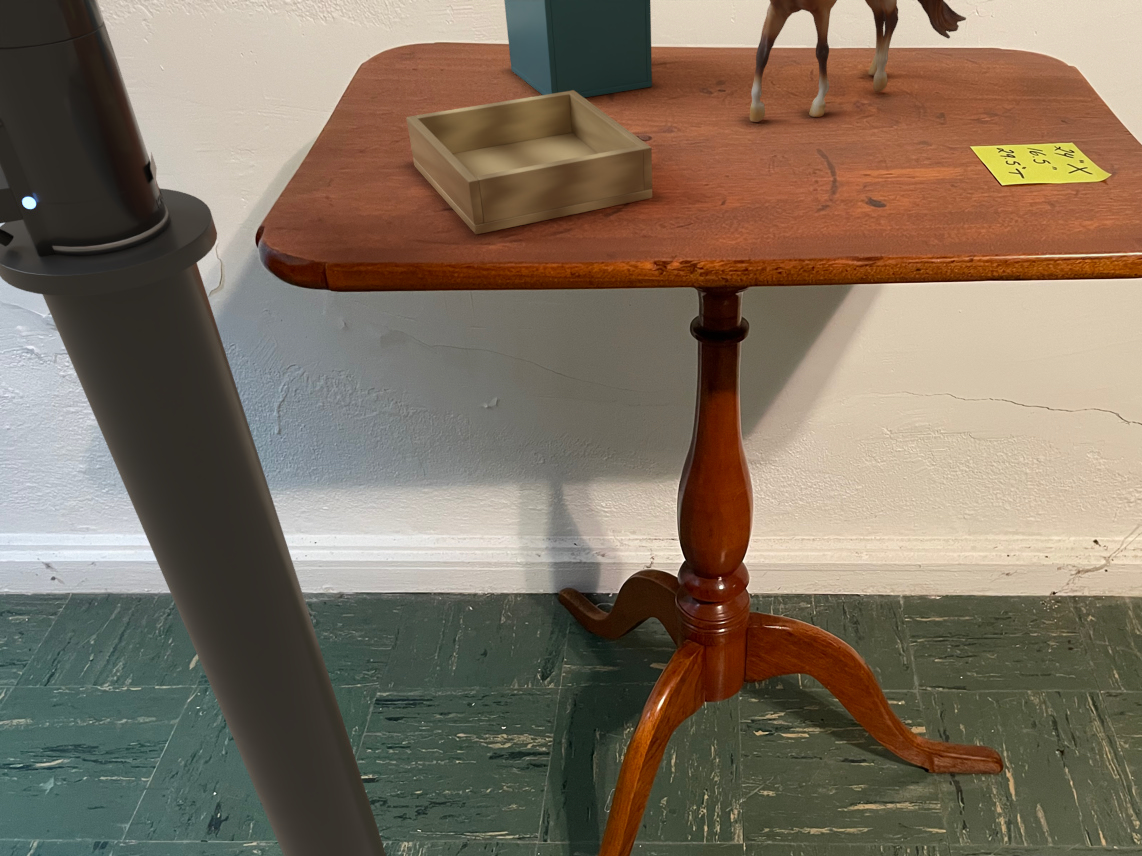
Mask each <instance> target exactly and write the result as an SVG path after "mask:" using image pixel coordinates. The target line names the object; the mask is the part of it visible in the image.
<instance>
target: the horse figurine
mask: <svg viewBox="0 0 1142 856" xmlns="http://www.w3.org/2000/svg"><path fill="white" fill-rule="evenodd" d="M837 1H838V0H769V6H768V7H767V10H766V16H765V18H764V22H763V25H762V29H761V35H760V41H759V43H758V46H757V50H756V55H755V72H754V77H753V82H752V87H751V104H750V105H749V106H750V107H749V114H748V115H749V121H750V122H753V123H758V122H761V121H762V120H763V119H764V118H765V115H766V107H765V103H764V102H762V100H761V97H762V95H763V90H762V84H763V75H764V72H765V68H766V66H767V64H768V61H769V59H770V54H771V50H772V49H773V47H774V45H775V43H776V40H777V38H778V37H779V35H780V33H781V31H782V30H783V28H784V26H785V24H786V22H787V20H788V19H789V17H791V15H793V14H795V13H798V12H800V11H805V12H808V13H810V14H811V15H812V18H813V23H814V25H815V30H816V37H817V41H816V45H815V57H816V60H817V62H818V74H819V75H818V91H817V92H818V93H817V95H816V96H815V98H814V99H813V101H812V102H811V106H810V108H809V113H808V115H809V116H810V117H812V118H820V117H822V116H824V114H825V110H826V106H827V105H826V101H825V98H826V95H827V94H828V92H829V90H830V81H829V77H828V59H829V56H830V55H829V54H830V45H829V43H828V36H829V35H828V34H829V27H830V18H831V17H830V16H831V11H832V9H833V7H834V6H835V5H836V3H837ZM864 1H865V3H866V4H867V6H868V7H869V8H870V9H871V12H872V14H873V20H874V26H875V52H874V53H875V54H874V57H873V58H872V61H871V63H870V66H869V69H868V72H867V74H868V76H873V81H872V91H873V92H874V93H876V94H877V93H881V92H883V91H884V90H885V89H886V88H887V85H888V81H889V80H888V74H887V72H886V71H885V70H886V66H887V64H888V62H889V61H888V60H889V49H890V45H891V41H892V37H893V35H894V32H895V30H896V28H897V25H898V22H899V8H898V5H897V4H898V0H864ZM916 1H917V2H918V3H919V4H920V6H921V7H922V9H923V11H924V12H925V14H926V15H927V18H928V21H929V24H930V25H931V28H932V29H933V30H934V31H935V32H936V33H938V34H939V35H940V36H941V37H944V38H946V39H948V40H949V39H950V38H951V36H950V35H949V33H952V32H957V31H958V30H959V27H960V25H958V23H959V22H963V21H966V20H967V17H965V16H963V15H961V14H958V13H957V12H956V11H954V10H953V9H952V8H951V7H950V5H949V4H948V3H947V2H946V1H945V0H916ZM948 32H949V33H948Z"/></svg>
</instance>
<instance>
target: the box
mask: <svg viewBox="0 0 1142 856" xmlns="http://www.w3.org/2000/svg"><path fill="white" fill-rule="evenodd" d="M405 119H406V124H407V129H408V136H409V141H410V148H411V153H412V154H411V155H412V161H413V165H414V167H415V168H416V170H417V171H418V172H419V173H420V174H421V175H422V176H423V178H424V179H426V181H427V182H428V183H429V184H430V185H431V186H432V187H433V188H434V190H435V191H436V193H438V194H439V195H440V196H441V197H442V199H443V200H444V201H445V203H447V204H448V205H449V207H450V208H451V209H452V210H453V211H454V212H455V213H456V215H457V216H459V217H460V219H461V220H462V221H463V222H464V223H465V224H466V226H468V228H469V229H470V230H471V231H472V232H473V233H474V234H475V235H482V234H485V233H490V232H495V231H500V230H506V229H509V228H514V227H519V226H525V225H530V224H533V223H539V222H544V221H548V220H552V219H558V218H562V217H567V216H572V215H577V214H582V213H587V212H591V211H597V210H601V209H606V208H610V207H615V206H616V207H617V206H621V205H625V204H630V203H634V202H640V201H646V200H649V199H653V156H652V155H653V154H652V150H653V149H652V147H651V146H650V145H648V144H647V143H646V142H645V141H643V140H642V139H641V138H639V137H638V136H636V135H635V133H633V132H631V131H629V130H628V129H627V128H626V127H624V126H623V125H622V124H621V123H619V122H618V121H616V120H615V119H614V118H612V117H611V116H609V115H608V114H607V113H605V112H604V111H603V110H601V109H600V108H598V107H597V106H596V105H595V104H593V102H590V101H589V100H588V99H586V97H585V98H584V97H582V96H581V95H580V94H578V93H577V92H576V91H574V90H572V91H567V92H560V93H553V94H547V95H542V94H541V95H536V96H530V97H529V96H528V97H523V98H516V99H510V100H504V101H497V102H492V103H491V102H490V103H485V104H479V105H472V106H466V107H460V108H459V107H458V108H454V109H447V110H439V111H435V112H428V113H423V114H417V115H416V114H415V115H411V116H406V118H405Z"/></svg>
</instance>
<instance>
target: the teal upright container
mask: <svg viewBox="0 0 1142 856" xmlns="http://www.w3.org/2000/svg"><path fill="white" fill-rule="evenodd" d="M651 7H652V6H651V0H504V10H505V11H504V12H505V17H506V18H505V20H506V30H507V40H508V51H509V60H510V69H511V70H510V71H511V72H513V74H515V75H516V76H517V77H519V78H520V79H521V80H523V81H524V82H525V83H527V84H528V85H529V86H530V87H532V88H533V89H534V90H536V91H537V92H538V93H539V94H541V95H547V94H553V93H560V92H567V91H572V90H574V91H576V92H577V93H578V94H580V95H581V96H582V97H584V98H585V99H586V98H591V97H597V96H598V97H599V96H603V95H610V94H616V93H621V92H627V91H634V90H641V89H646V88H651V87H653V63H652V21H651V20H652V16H651V15H652V13H651V11H652V10H651Z"/></svg>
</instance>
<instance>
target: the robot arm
mask: <svg viewBox="0 0 1142 856" xmlns="http://www.w3.org/2000/svg"><path fill="white" fill-rule="evenodd" d="M100 7H101V6H100V4H99V2H98V0H0V224H4V223H6V222H12V221H18V220H23V222H24V224H25V227H26V229H27V232H28V234H29V236H30V239H31V241H32V243H33V246H34V248H35V251H36V253H37V255H38V256H39V257H43V256H48V255H56V254H57V255H69V256H85V255H97V254H105V253H110V252H116V251H120V250H124V249H127V248H131V247H134V246H137V245H139V244H142V243H144V242H146V241H149V240H151V239H152V238H154V237H156V236H157V235H159V234H160V233H162V232H163V231H164V230H165V229H166V228H167V226H168V225H169V223H170V216H169V213H168V210H167V207H166V205H165V204H164V202H163V197H162V194H161V191H160V189H161V188H160V187H159V183H158V180H157V165H156V162H155V159H154V156H153V153H152V151H151V152H150V156H149V154H148V150H147V148H146V144H145V141H144V139H143V135H142V132H141V130H140V126H139V123H138V121H137V117H136V114H135V110H134V107H133V104H132V102H131V98H130V96H129V93H128V90H127V86H126V83H125V81H124V77H123V74H122V71H121V68H120V66H119V63H118V62H119V61H118V59H117V57H116V53H115V50H114V47H113V44H112V41H111V37H110V35H109V32H108V28H107V26H106V23H105V20H104V16H103V14H102V10H101V8H100ZM13 238H14V236H13V235H11V234H10V233H8V232H6V231H4V230H2V229H0V244H2V245H4V246H5V247H6V246H7V245H9V244H10V243H11V241H12V240H13Z"/></svg>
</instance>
